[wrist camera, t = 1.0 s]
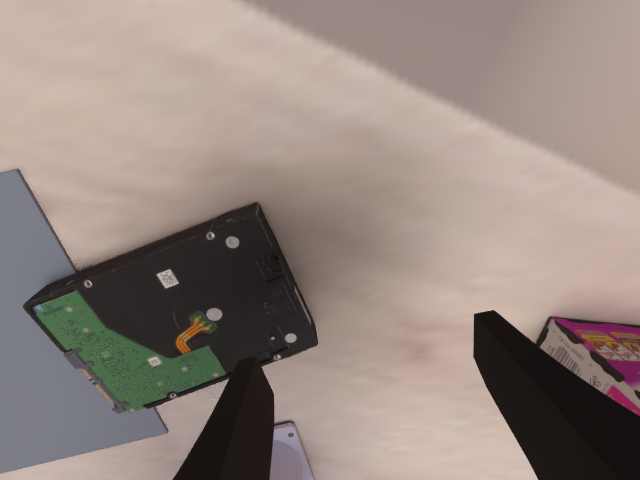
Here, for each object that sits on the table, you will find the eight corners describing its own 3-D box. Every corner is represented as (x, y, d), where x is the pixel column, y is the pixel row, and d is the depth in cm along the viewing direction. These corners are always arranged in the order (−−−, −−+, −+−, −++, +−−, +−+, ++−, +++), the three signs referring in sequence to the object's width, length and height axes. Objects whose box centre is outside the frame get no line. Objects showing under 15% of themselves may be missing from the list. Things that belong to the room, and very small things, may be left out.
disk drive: (257, 195, 22) (43, 283, 23) (255, 209, 20) (14, 308, 20) (317, 321, 26) (135, 393, 27) (321, 345, 24) (120, 425, 24)
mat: (168, 431, 29) (167, 433, 29) (1, 471, 29) (-1, 473, 29) (18, 168, 20) (15, 169, 20) (-222, 227, 20) (-226, 228, 20)
